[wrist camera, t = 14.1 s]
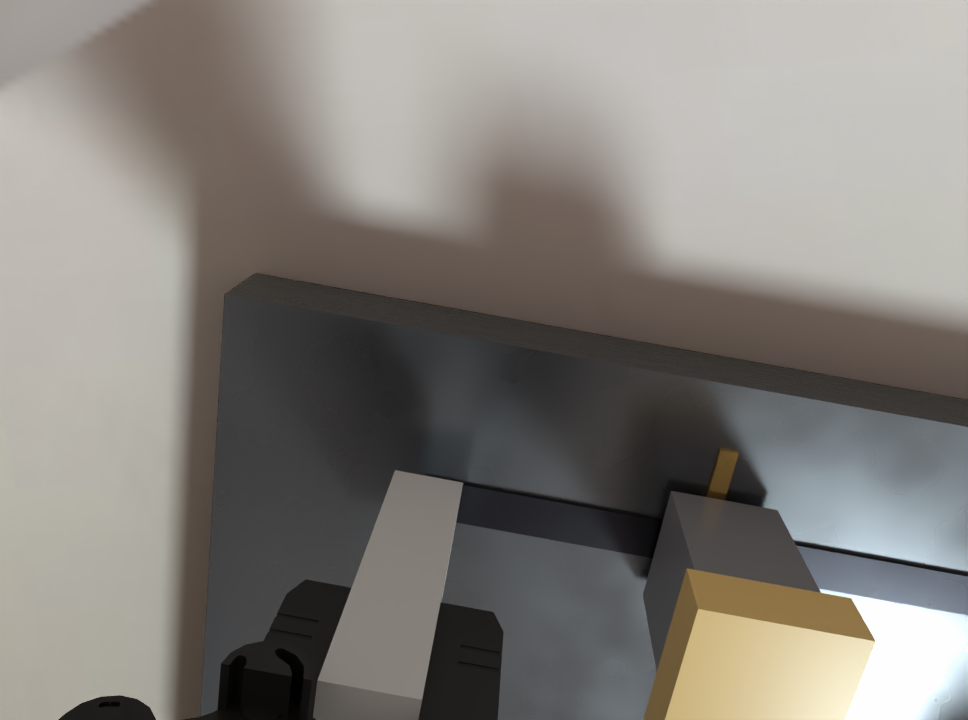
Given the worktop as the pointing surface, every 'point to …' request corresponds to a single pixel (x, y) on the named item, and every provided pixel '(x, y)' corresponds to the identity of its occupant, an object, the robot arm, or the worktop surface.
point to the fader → (745, 621)
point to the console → (574, 487)
